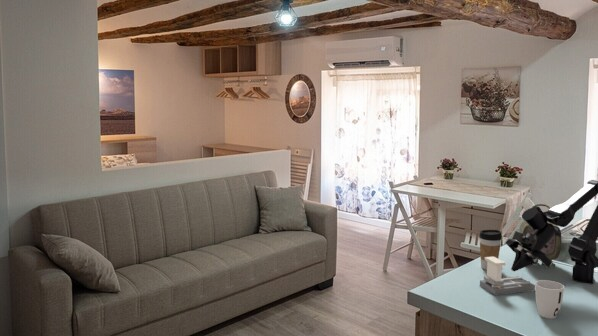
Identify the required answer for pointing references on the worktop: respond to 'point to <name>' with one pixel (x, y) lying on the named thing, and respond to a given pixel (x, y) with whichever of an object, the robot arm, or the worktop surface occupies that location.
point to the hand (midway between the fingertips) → (512, 270)
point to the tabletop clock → (553, 244)
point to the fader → (494, 270)
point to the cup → (548, 298)
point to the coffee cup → (489, 245)
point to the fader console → (508, 286)
